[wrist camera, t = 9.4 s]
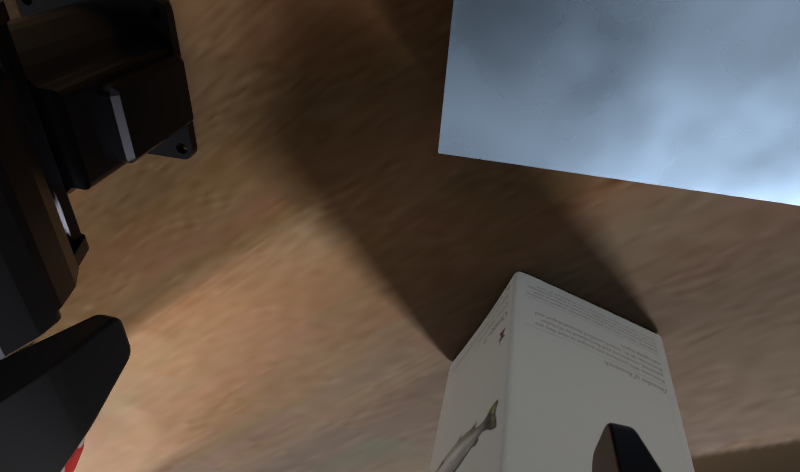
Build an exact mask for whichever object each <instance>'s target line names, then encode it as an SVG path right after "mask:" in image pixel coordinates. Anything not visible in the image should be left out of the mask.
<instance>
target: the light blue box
mask: <svg viewBox="0 0 800 472" xmlns="http://www.w3.org/2000/svg"><path fill="white" fill-rule="evenodd" d="M438 153H441V154H448V155H455V156H462V157H469V158H475V159H482V160H489V161H496V162H503V163H510V164H517V165H524V166H531V167H538V168H545V169H551V170H558V171H565V172H572V173H579V174H586V175H593V176H600V177H607V178H614V179H621V180H627V181H634V182H641V183H648V184H655V185H662V186H669V187H676V188H683V189H690V190H697V191H703V192H710V193H717V194H724V195H731V196H738V197H745V198H752V199H759V200H766V201H773V202H779V203H786V204H793V205H800V0H454V2H453V11H452V21H451V31H450V41H449V50H448V60H447V70H446V80H445V89H444V99H443V109H442V119H441V128H440V138H439V148H438Z"/></svg>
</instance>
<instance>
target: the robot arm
mask: <svg viewBox="0 0 800 472" xmlns="http://www.w3.org/2000/svg"><path fill="white" fill-rule="evenodd" d="M16 2H17V5H18V8H19V11H20V14H21V18H17V19H13V20H10V18H9V15H8V12H7V10H6V7H5V4H4V1H3V0H0V472H61V471H62V469H63V468H64V466H65V465H66V464H67V462H68V461H69V459H70V458H71V456H72V455H73V453H74V452H75V450H76V449H77V448H78V446H79V445H80V443H81V442H82V440H83V439H84V437H85V436H86V434H87V432H88V431H89V429H90V428H91V426H92V424H93V423H94V421H95V419H96V417H97V416H98V414H99V412H100V410H101V408H102V407H103V405H104V403H105V401H106V399H107V398H108V396H109V394H110V392H111V390H112V388H113V387H114V385H115V383H116V381H117V379H118V378H119V376H120V374H121V372H122V370H123V369H124V367H125V365H126V363H127V361H128V359H129V356H130V344H129V341H128V338H127V335H126V332H125V329H124V327H123V324H122V322H121V320H120V319H118V318H116V317H111V316H107V315H95V316H93V317H90V318H88V319H86V320H84V321H82V322H80V323H78V324H76V325H74V326H72V327H69V328H67V329H65V330H63V331H61V332H59V333H57V334H55V335H53V336H51V337H48V338H46V339H44V340H42V341H40V342H38V343H36V344H34V345H32V346H30V347H27V348H25V349H23V350H21V351H19V352H17V353H15V354H13V353H14V352H16V351H18V350H19V349H21V348H23V347H25V346H26V345H28V344H30V343H31V342H33V341H35V340H37V339H38V338H39V337H41V336H42V335H43V334H44V333H45V332H47V331H48V330H49V329H50V328H52V327H53V326H54V325H55V324H56V323H57V322H58V321H59V320H60V318H61V313H60V311H59V309H60V308H61V307H62V306H63V304H64V303H65V301H66V300H67V298H68V297H69V295H70V294H71V292H72V291H73V290H74V288H75V287H76V283H77V276H78V270H79V265H80V263H81V262H82V260H83V258H84V257H85V255H86V253H87V251H88V250H89V246H88V243H87V240H86V237H85V235H84V234H81V232H80V229H79V226H78V224H77V221H76V218H75V215H74V212H73V209H72V206H71V204H70V201H69V198H68V194H70V193H71V192H73V191H74V190H76V189H77V188H78V189H83V190H87V189H90V188H91V187H93V186H94V185H96V184H97V183H99V182H100V181H102V180H103V179H104V178H106V177H107V176H109V175H110V174H112V173H113V172H115V171H116V170H118V169H119V168H120V167H122V166H123V165H125V164H126V163H133V162H135V161H136V160H138V159H139V158H141V157H142V156H144V155H145V154H147V153H148V154H155V155H161V156H167V157H174V158H180V159H188V158H190V157H191V156H193V155H194V154H195V153H196V151H197V143H196V138H195V132H194V126H193V121H192V120H193V112H192V107H191V101H190V96H189V90H188V84H187V79H186V73H185V67H184V62H183V60H182V58H181V54H180V48H179V43H178V37H177V32H176V26H175V21H174V15H173V11H172V8H171V6H170V5H169V3H168V2H167V1H166V0H32V1H31V0H16ZM155 7H157V8H158V9H159V10H160V13H161V17H159V16H158V15H157V14H156V12H155ZM181 143H182V144H184V145H185V146H186V148H187V150H186V149H184V148H183V147H182V145H181ZM11 354H13V355H11ZM9 355H11V356H9ZM7 356H9V357H7ZM1 359H2V360H1ZM592 472H662V471H661V469H660V467H659V466H658V464H657V463H656V461H655V460H654V458H653V456H652V455H651V453H650V452H649V450H648V449H647V447H646V445H645V444H644V442H643V441H642V439H641V438H640V436H639V434H638V433H637V432H636V430H635V429H633V428H632V427H629V426H625V425H621V424H616V423H608V424H607V425H606V426H605V428H604V430H603V432H602V434H601V437H600V439H599V441H598V443H597V446H596V448H595V450H594V454H593V460H592Z"/></svg>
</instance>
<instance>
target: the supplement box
mask: <svg viewBox="0 0 800 472" xmlns="http://www.w3.org/2000/svg"><path fill="white" fill-rule="evenodd" d="M608 423H616V424H621V425H625V426H629V427H632V428H633V429H635V430H636V432H637V433H638V434H639V436H640V438H641V439H642V441H643V442H644V444H645V445H646V447H647V449H648V450H649V452H650V453H651V455H652V456H653V458H654V460H655V461H656V463H657V464H658V466H659V467H660V469H661V471H662V472H694V468H693V464H692V459H691V455H690V451H689V447H688V443H687V440H686V436H685V432H684V428H683V424H682V420H681V416H680V412H679V408H678V404H677V399H676V395H675V391H674V387H673V383H672V379H671V375H670V371H669V367H668V363H667V359H666V355H665V351H664V347H663V343H662V338H661V336H659V335H657V334H655V333H653V332H651V331H649V330H647V329H645V328H643V327H641V326H639V325H637V324H634V323H632V322H630V321H628V320H626V319H623V318H621V317H619V316H617V315H615V314H613V313H611V312H609V311H607V310H604V309H602V308H600V307H598V306H595V305H593V304H591V303H589V302H587V301H585V300H583V299H581V298H579V297H576V296H574V295H572V294H570V293H567V292H565V291H563V290H561V289H559V288H557V287H555V286H552V285H550V284H548V283H546V282H544V281H542V280H540V279H537V278H535V277H533V276H530V275H528V274H525V273H523V272H516V273H515V274H514V276H513V277H512V279H511V280H510V282H509V284H508V285H507V287H506V288H505V290H504V292H503V293H502V295H501V296H500V298H499V299H498V301H497V302H496V304H495V305H494V307H493V308H492V310H491V311H490V313H489V314H488V316H487V317H486V318H485V320H484V321H483V323H482V324H481V325H480V327H479V328H478V330H477V331H476V332H475V333H474V335H473V336H472V338H471V339H470V340H469V342H468V343H467V344H466V346H465V347H464V348H463V350H462V351H461V352H460V353H459V355H458V356H457V357H456V358H455V360H454V361H453V362H452V363H451V365H450V369H449V374H448V380H447V385H446V390H445V394H444V399H443V404H442V409H441V414H440V419H439V424H438V429H437V434H436V439H435V444H434V450H433V454H432V459H431V464H430V470H429V472H592V460H593V454H594V450H595V448H596V446H597V443H598V441H599V439H600V437H601V434H602V432H603V430H604V428H605V426H606V425H607V424H608Z"/></svg>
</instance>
